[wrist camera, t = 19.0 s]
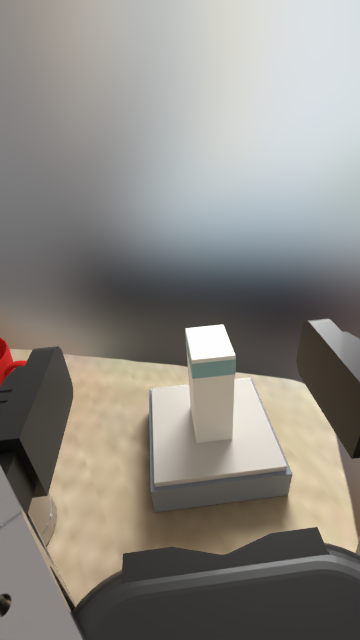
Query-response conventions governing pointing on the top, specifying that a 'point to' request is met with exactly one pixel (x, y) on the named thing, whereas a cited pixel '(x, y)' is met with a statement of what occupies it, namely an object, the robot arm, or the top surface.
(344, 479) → the top surface
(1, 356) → the ceramic cup
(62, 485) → the top surface
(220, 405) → the carton
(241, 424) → the podium
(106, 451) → the top surface
